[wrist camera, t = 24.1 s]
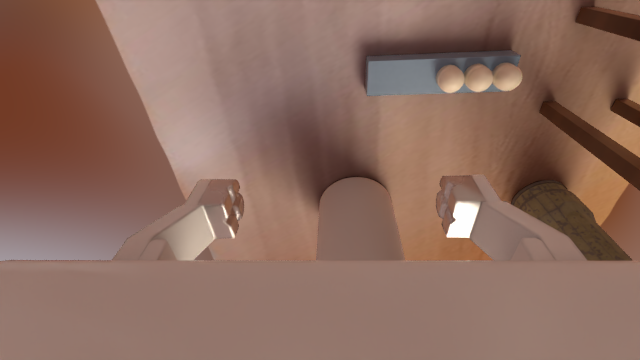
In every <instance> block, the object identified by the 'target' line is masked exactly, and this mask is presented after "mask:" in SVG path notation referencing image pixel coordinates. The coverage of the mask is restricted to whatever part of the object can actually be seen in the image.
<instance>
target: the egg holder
mask: <svg viewBox="0 0 640 360" xmlns="http://www.w3.org/2000/svg"><path fill="white" fill-rule="evenodd" d="M520 57H521V55H519V54H518V53H516V52H514V51H512V50H504V51H479V52H454V53H430V54H405V55H380V56H367V59H366V84H365V90H366V94H367V96H381V95H411V94H441V93H471V92H501V91H509V90H512V89H514V88H516V87H517V86H518V85H519V84H520V83H521V80H522V72H521V70H520V69H519V68H518V67H517V66H518V63H519V60H520Z"/></svg>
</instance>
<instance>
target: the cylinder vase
mask: <svg viewBox="0 0 640 360" xmlns="http://www.w3.org/2000/svg"><path fill="white" fill-rule="evenodd" d="M316 261H405V257H404V253H403V248H402V244H401V240H400V235H399V231H398V227H397V222H396V218H395V214H394V209H393V205H392V201H391V197H390V195H389V193H388V191H387V190H386V189H385V188H384V187H383V186H382V185H381V184H379V183H378V182H376V181H374V180H371V179H368V178H363V177H351V178H345V179H342V180H339V181H337V182H335V183H333V184H332V185H331V186H329V187H328V188H327V189H326V190H325V192H324V193H323V195H322V197H321V199H320V204H319V220H318V237H317V254H316Z"/></svg>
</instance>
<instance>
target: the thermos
mask: <svg viewBox="0 0 640 360" xmlns="http://www.w3.org/2000/svg"><path fill="white" fill-rule="evenodd" d="M511 205H513V206H515V207H517V208H518V209H520V210H522V211H524V212H525V213H527V214H529V215H531V216H533V217H534V218H536V219H538V220H540V221H542V222H543V223H545V224H547V225H549V226H550V227H552V228H554V229H556V230H558V231H559V232H561V233H563V234H565V235H567V236H568V237H569V238H570V239H571V240H572V241H573V243H574V244H575V245H576V246H577V248H578V249H579V250H580V252H581V253H582V254H583V255H584V257H585V258H586V259H587V260H588V261H633V260H632V259H631V258H630V257H629V256H628V255H627V254H626V253H625V252H624V251H623V250H622V249H621V248H620V247H619V246H618V245H617V243H615V241H614V240H612V238H611V237H610V236H609V235H608V234H607V233H606V232H605V231H604V230H603V229H602V228H601V227H600V226H599V225H598V224H597V223H596V221H595V218H594V215H593V213H592V212H591V211H590V210H589V209H588V208H587V207H586V206H585V205H584V204H583V203H582V202H581V201H580V199H579V198H578V197H577V196H575V195H574V194H573V193H572V192H570V191H568V190H567V188H566V187H565V186H564V185H563V184H561V183H560V182H557V181H554V180H543V181H539V182H535V183H533V184H530V185H528V186H526V187H525V188H523V189H522V190H520V191H519V192H518V193H517V194H516V195H515V197H514V198H513V200H512V202H511Z"/></svg>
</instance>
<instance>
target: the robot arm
mask: <svg viewBox="0 0 640 360" xmlns="http://www.w3.org/2000/svg"><path fill="white" fill-rule="evenodd" d="M440 187H441V189H442V190H440V191H439V192H438V193H437V198H436V208H437V213H438V215H439V217H441V218H442V219H443V222H442V226H443V229H444V231H445V234H446V237H466V238H469V239H470V240H472V241H473V242H474V243H475V244H476V245H477V246H478V247H479V248H481V249H482V250H483V251H484V252H485V253H486V254H487V255H488V256H490V257H491V258H492V259H493V260H494V261H193V260H194V259H195V258H196V257H197V256H198V255H199V254H200V253H201V252H202V251H203V250H204V249H205V248H206V247H207V246H208V245H209V244H210V243H211V242H212V241H213V240H214V239H221V238H235V236H236V233H237V230H238V227H239V224H238V221H239V220H240V219H241V218H242V216H243V212H244V200H243V197H242V195H241V194H240V193H238V191H239V189H240V186H239V183H238V181H237V180H236V179H213V180H211V179H206V180H199V181H198V182H197V184H196V186H195V187H194V189H193V191H192V192H191V194H190V196H189V198H188V199H187V201H186V203H185V204H184V205H180V206H179V207H177V208H175V209H174V210H172V211H171V212H169V213H167V214H166V215H164V216H163V217H161V218H159V219H158V220H156V221H155V222H153V223H151V224H150V225H148V226H146V227H145V228H143V229H142V230H140V231H139V232H137V233H135V234H134V235H132V236H130V237H129V238H127V240H126V241H125V242H124V244H123V245H122V247H121V248H120V250H119V251H118V252H117V254H116V255H115V257H114V258H113V259H112V260H107V261H106V260H104V261H103V260H102V261H101V260H92V261H91V260H70V261H69V260H6V261H0V360H640V261H588V260H587V259H586V258H585V257H584V255H583V254H582V253H581V252H580V250H579V249H578V248H577V246H576V245H575V244H574V243H573V241H572V240H571V239H570V238H569V237H568V236H567V235H565V234H563V233H561V232H559V231H558V230H556V229H554V228H552V227H550V226H549V225H547V224H545V223H543V222H542V221H540V220H538V219H536V218H534V217H533V216H531V215H529V214H527V213H525V212H524V211H522V210H520V209H518V208H517V207H515V206H513V205H511V204H509V203H508V202H506V201H501V200H500V198H499V197H498V195H497V194H496V192H495V190H494V189H493V187H492V186H491V184H490V183H489V181H488V180H487V178H486V177H485V176H484V175H483V174H481V175H467V176H442V178H441V180H440Z"/></svg>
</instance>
